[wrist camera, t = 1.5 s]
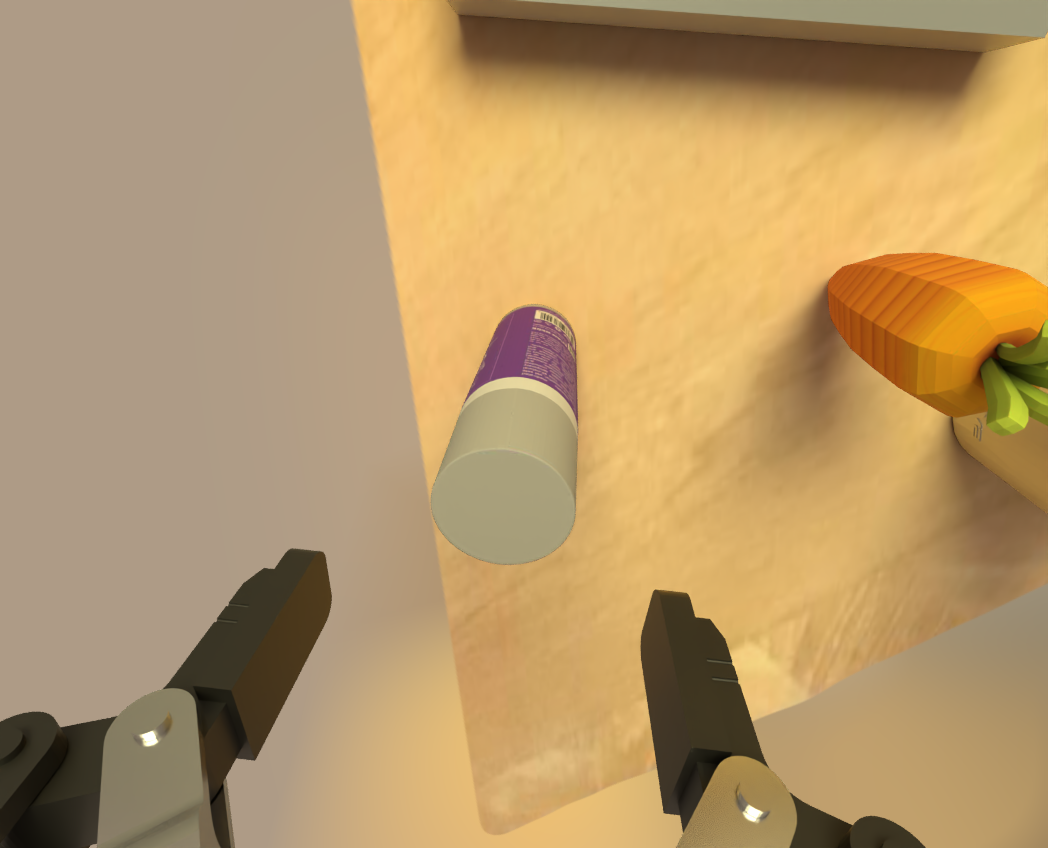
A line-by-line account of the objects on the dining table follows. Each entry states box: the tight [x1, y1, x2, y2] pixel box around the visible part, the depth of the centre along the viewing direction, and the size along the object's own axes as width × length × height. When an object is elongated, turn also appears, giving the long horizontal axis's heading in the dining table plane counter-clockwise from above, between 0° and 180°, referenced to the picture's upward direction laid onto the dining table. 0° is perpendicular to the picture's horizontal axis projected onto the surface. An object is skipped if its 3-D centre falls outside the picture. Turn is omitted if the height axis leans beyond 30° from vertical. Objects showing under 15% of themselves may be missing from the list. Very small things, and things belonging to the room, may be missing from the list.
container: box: [431, 304, 578, 565], centre depth 22 cm, size 5×5×15 cm
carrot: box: [828, 253, 1048, 436], centre depth 19 cm, size 5×5×15 cm
